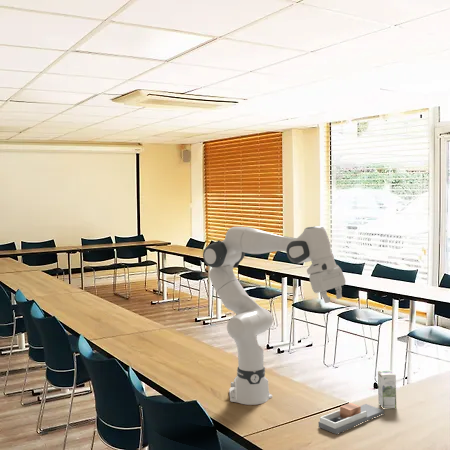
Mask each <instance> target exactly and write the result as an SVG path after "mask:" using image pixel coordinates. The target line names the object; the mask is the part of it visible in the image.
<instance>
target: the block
mask: <svg viewBox="0 0 450 450" xmlns="http://www.w3.org/2000/svg"><path fill="white" fill-rule="evenodd" d="M361 406H362V405H357V404H355V403H353V402H349V403H346V404H344V405H341V406H340V407H339V408H340V409H339V410H340V417H342V418H345V419H346V418H348V417H351V416H353V415H356V414H358V413H361Z"/></svg>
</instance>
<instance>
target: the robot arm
mask: <svg viewBox="0 0 450 450" xmlns="http://www.w3.org/2000/svg"><path fill="white" fill-rule="evenodd" d="M329 238H330V237H329V236H328V234H327V231H326V229H325V228H324V227H323V226H322V225H317V226H316V225H314V226H308V227H305V228H304V230H303V231H302V233H301V234H300V235H299V236H298V237H291V236H285V235H279V234H276V233H271V232H268V231H265V230H262V229H257V228H254V227H248V226H232V227H230V228H229V229H227V231H226V233H225V238H224V239H223V240H217V241H215V242H213V243H211V244H209V245H207V246H206V247H205V248H204V250H203V251H202V258H203V261H204V263H205V264H206V266H208V267H210V268H211V269H210V270H209V273H208V275H209V276H208V277H209V280H210V282H211V285H212V286H213V289H214V290H215V292H216V294H217V295H218V298H219V299H220V300H221V303H222V304H223V305H224V307H225V308H226V309H227V310H229V311H232V312H233V313H234V314H235V315H234V316H232V317H231V318H230V319H229V320H228V321H227V324H226V330H227V334H228V335H229V336H230V338H231V339H233V340H234V343H235V345H236V347H237V359H238V362H237V363H238V365H237V366H238V367H237V370H236V377H234V379H233V381H231V382H230V387H229V389H228V392H229V401H230V402H232V403H233V402H234V403H239V404H241V405H246V406H247V405H248V406H252V405H256V406H257V405H261V404H264V403H266V402H267V401H269V400H270V399H272V398H273V394H271V393H270V388H269V379H268V378H267V377H266V368H265V366H264V365H265V364H264V363H265V361H264V349H263V347H261V346H260V345H259V343H258V338H257V336H258V335H260V334H264V333H265V332H267V331H268V330H269V329H270V328H271V327H273V322H274V318H273V315H272V313H271V311H269V310H268V309H267V308H264V307H262V306H260V305H259V303H257V302H256V301H255V300H254V299H253V298H251V296H249V294H248V293H247V291H246V290H245V289H244V287H243V286H242V284H241V283H240V281H239V280H238V278H237V275H235V273H234V269H235V268H238V266H239V265H240V263H241V262H242V261H243V259H244V258H245V256H246V254H251V255H261V254H268V253H273V252H286V256H287V258H288V260H289V261H290V262H291V263H294V264H304V263H308V262H311V264H310V265H309V267H308V268H307V269H306V272H307V275H309V283H310V286H311V289H312V291H313V292H314V294H318V293H319V294H320V296H321V297H322V299H323V300H324V301H323V302H324V303H325V304H327V303H331V298H330V296H328V292H327V291H328V290H333V289H335V293H336V294H335V297H336V300H338V299H342V298H343V295H342V292H343V291H342V290H343V289H342V288H343V287H342V286H344V285H346V279H345V275H344V273H343V270H342V268H341V267H340V266H339V265H338V264H337V263H336V261H335V257H334V254H333V251H332V249H331V242H330V239H329Z"/></svg>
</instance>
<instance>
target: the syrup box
mask: <svg viewBox="0 0 450 450" xmlns="http://www.w3.org/2000/svg"><path fill="white" fill-rule="evenodd" d="M396 376H397V375H396V374H395V372H393V370H378V371H377V386H378V387H377V390H378V405H379V404H380V405H381V406H382V407H383V408H396V409H397V377H396ZM380 405H379V406H380Z"/></svg>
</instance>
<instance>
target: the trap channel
mask: <svg viewBox="0 0 450 450" xmlns="http://www.w3.org/2000/svg"><path fill="white" fill-rule="evenodd" d="M360 406H361V413H358V414H356V415H353V416H351V417H348V418H346V419H345V418H342V417H340V409H338V410H336V411H332V412H330V413H328V414H325V415H322V416H320V417H319V421H318V428H320V429H322V430H325V431H327V432H328V433H329V432H330V433H331V432H332V434H334V433H335V434H334V435H336V434H338V433H340V432H342V433H344V432H343V431H345V430H347V429H350V428H352V427H354V426H356V425H358V424H360V423H362V422H365V421H367V420H370V419H372V418H374V417H377V416H379V415H381V414H384V415H385V409H384V410H383V409H382V408H378V407H376V406H373V405H370V404H367V403H364V404H362V405H360ZM354 428H355V427H354ZM352 429H353V428H352ZM350 430H351V429H350ZM347 431H348V430H347ZM345 432H346V431H345ZM340 434H341V433H340ZM338 435H339V434H338Z"/></svg>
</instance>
